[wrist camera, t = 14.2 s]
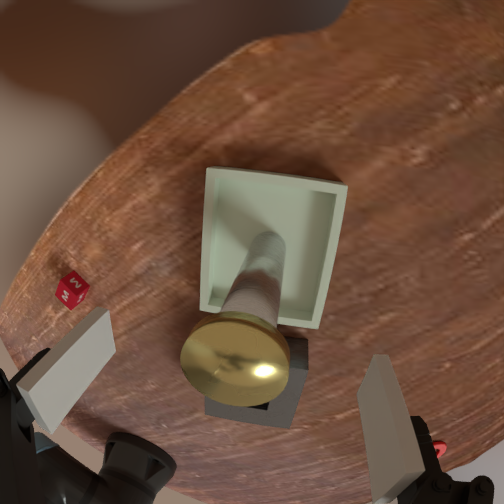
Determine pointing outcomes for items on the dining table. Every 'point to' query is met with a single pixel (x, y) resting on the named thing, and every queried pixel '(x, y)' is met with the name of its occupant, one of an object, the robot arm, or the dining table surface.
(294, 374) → the hitch block
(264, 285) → the pin
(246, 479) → the dining table surface
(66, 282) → the dice
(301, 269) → the tray
